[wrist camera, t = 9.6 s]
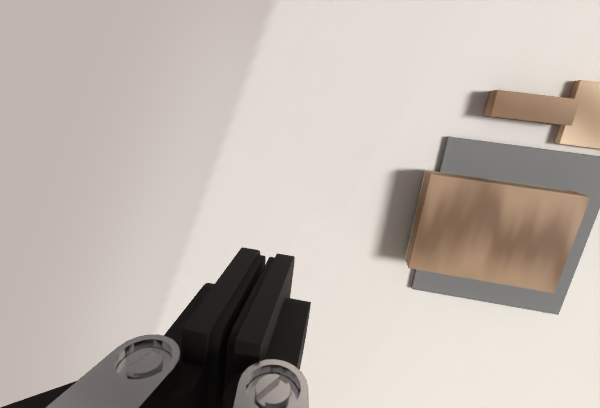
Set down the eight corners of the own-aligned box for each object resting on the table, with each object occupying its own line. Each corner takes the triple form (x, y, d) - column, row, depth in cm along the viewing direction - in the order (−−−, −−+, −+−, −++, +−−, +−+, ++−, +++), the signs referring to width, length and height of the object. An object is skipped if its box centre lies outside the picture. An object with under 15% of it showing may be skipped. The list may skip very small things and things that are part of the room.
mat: (447, 136, 24) (448, 136, 23) (615, 158, 23) (618, 159, 22) (411, 287, 27) (411, 288, 27) (556, 312, 26) (558, 314, 26)
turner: (495, 72, 22) (503, 70, 21) (673, 92, 21) (692, 91, 20) (478, 133, 23) (485, 134, 22) (648, 154, 22) (664, 157, 21)
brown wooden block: (430, 174, 22) (590, 196, 21) (425, 169, 24) (572, 190, 23) (408, 268, 24) (554, 293, 23) (404, 258, 26) (540, 280, 25)
